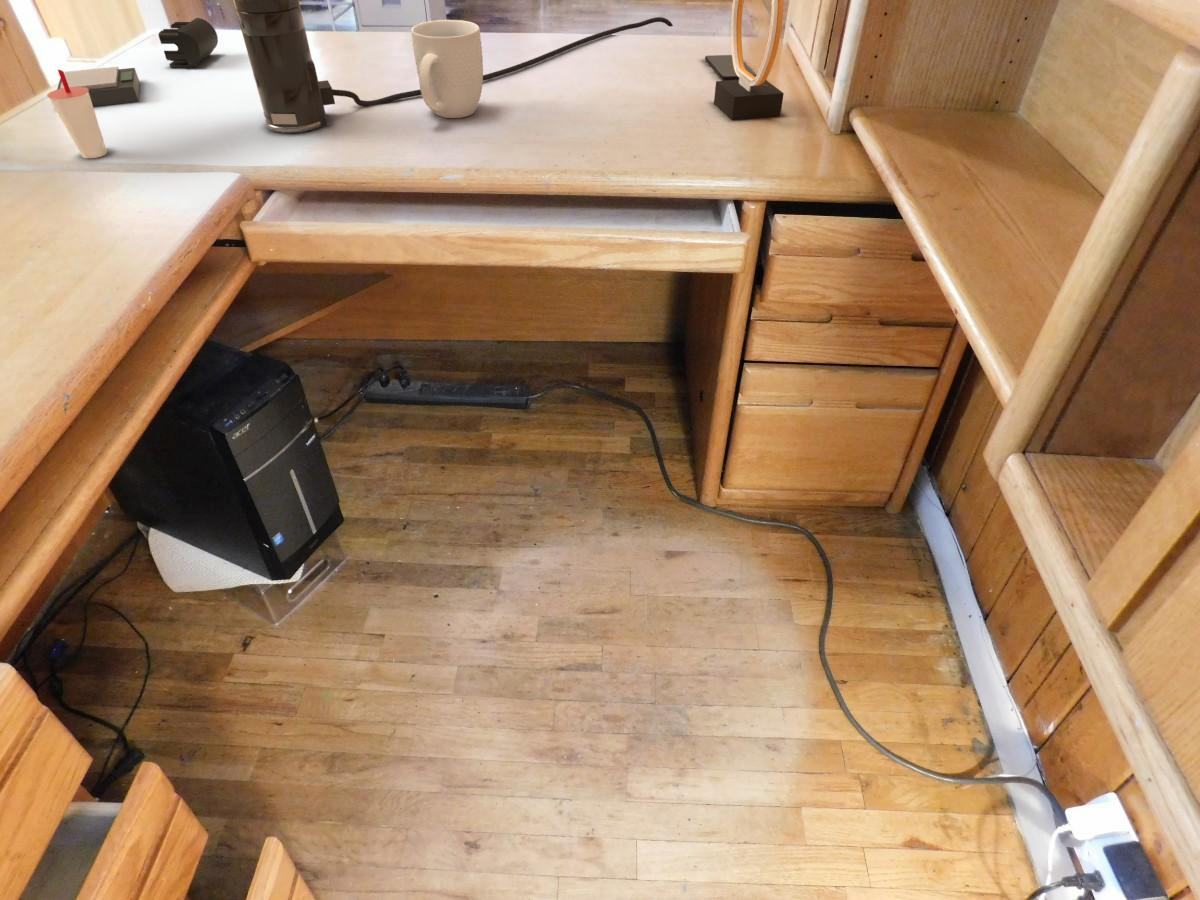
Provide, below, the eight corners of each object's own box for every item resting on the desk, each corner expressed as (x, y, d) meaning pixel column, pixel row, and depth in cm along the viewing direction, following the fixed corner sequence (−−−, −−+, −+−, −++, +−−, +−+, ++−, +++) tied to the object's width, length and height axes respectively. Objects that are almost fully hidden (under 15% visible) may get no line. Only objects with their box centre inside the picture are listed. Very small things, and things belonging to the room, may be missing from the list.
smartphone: (737, 54, 157) (758, 75, 145) (736, 59, 157) (757, 80, 146) (704, 55, 156) (722, 76, 145) (703, 60, 156) (722, 81, 145)
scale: (139, 82, 143) (133, 63, 141) (138, 101, 135) (131, 82, 133) (67, 89, 140) (59, 70, 138) (61, 110, 132) (53, 90, 130)
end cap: (205, 69, 150) (193, 30, 145) (168, 69, 150) (155, 30, 145) (223, 54, 157) (212, 17, 153) (188, 54, 157) (176, 17, 152)
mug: (460, 134, 124) (450, 46, 116) (399, 127, 127) (385, 39, 118) (497, 105, 135) (490, 22, 126) (440, 98, 137) (430, 17, 129)
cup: (112, 145, 120) (77, 62, 112) (116, 156, 116) (80, 71, 108) (73, 151, 118) (35, 67, 110) (76, 163, 114) (37, 77, 106)
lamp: (789, 124, 129) (828, -108, 108) (740, 128, 127) (770, -107, 106) (751, 93, 141) (779, -122, 120) (706, 96, 139) (726, -120, 118)
